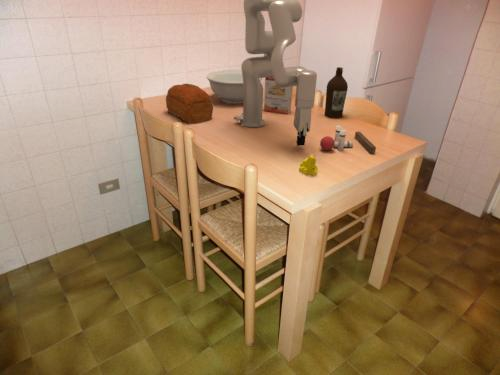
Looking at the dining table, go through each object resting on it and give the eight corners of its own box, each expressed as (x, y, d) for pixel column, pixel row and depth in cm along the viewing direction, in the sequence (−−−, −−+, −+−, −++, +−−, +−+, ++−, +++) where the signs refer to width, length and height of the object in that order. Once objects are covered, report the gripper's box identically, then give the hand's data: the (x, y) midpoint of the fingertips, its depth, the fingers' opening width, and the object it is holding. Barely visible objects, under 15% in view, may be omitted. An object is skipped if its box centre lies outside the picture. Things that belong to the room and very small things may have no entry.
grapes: (307, 165, 139) (309, 147, 135) (321, 174, 133) (323, 155, 129) (295, 169, 136) (297, 150, 132) (308, 177, 130) (310, 158, 126)
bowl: (227, 111, 195) (226, 84, 188) (197, 97, 218) (196, 73, 210) (272, 102, 212) (273, 77, 205) (240, 90, 234) (241, 67, 227)
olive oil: (320, 113, 196) (325, 66, 184) (338, 112, 198) (344, 65, 186) (328, 119, 187) (334, 70, 175) (346, 118, 189) (354, 69, 177)
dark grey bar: (370, 153, 149) (371, 147, 148) (354, 137, 165) (355, 131, 163) (374, 153, 149) (376, 147, 148) (358, 137, 165) (359, 131, 164)
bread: (188, 125, 175) (186, 93, 168) (164, 111, 194) (161, 82, 186) (216, 119, 184) (215, 88, 176) (190, 106, 202) (189, 78, 194)
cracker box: (263, 111, 197) (265, 72, 187) (267, 108, 202) (268, 70, 192) (287, 114, 193) (290, 75, 182) (291, 111, 197) (294, 72, 187)
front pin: (334, 143, 152) (353, 142, 153) (332, 140, 154) (351, 140, 155) (333, 148, 154) (352, 148, 155) (331, 145, 156) (350, 145, 157)
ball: (336, 152, 150) (321, 154, 152) (335, 142, 154) (321, 144, 156) (333, 142, 146) (318, 144, 148) (333, 132, 149) (318, 134, 151)
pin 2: (338, 150, 152) (341, 131, 147) (336, 148, 154) (339, 129, 150) (344, 150, 152) (347, 131, 148) (342, 148, 154) (345, 129, 150)
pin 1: (334, 146, 156) (337, 127, 152) (333, 143, 158) (335, 125, 154) (340, 145, 156) (343, 127, 152) (338, 143, 158) (341, 125, 154)
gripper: (291, 97, 150) (288, 138, 159) (299, 108, 137) (295, 152, 146) (309, 97, 150) (304, 138, 159) (318, 108, 137) (313, 151, 147)
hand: (300, 144), depth 153 cm, fingers closed
